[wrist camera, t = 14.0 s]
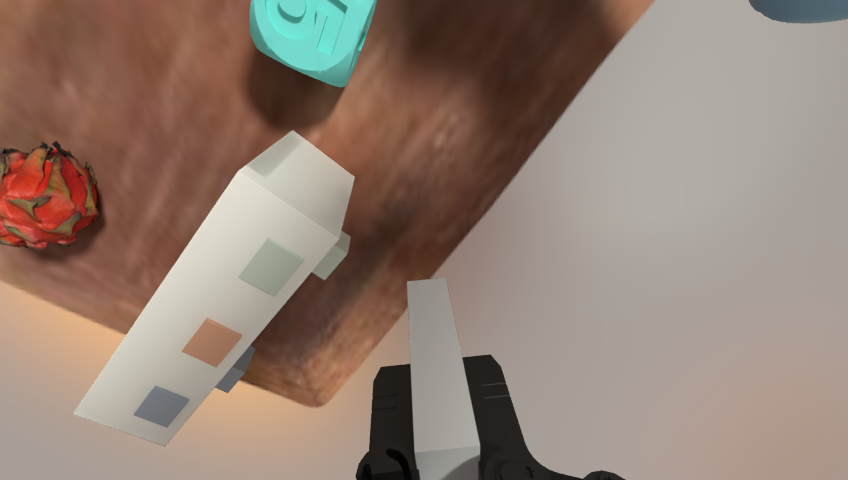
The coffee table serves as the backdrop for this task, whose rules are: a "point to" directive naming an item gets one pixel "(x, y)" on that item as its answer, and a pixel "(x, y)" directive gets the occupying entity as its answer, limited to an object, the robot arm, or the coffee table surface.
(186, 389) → the button box
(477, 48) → the coffee table surface
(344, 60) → the decorative dice
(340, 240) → the sage button
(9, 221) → the dragon fruit
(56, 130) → the coffee table surface
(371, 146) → the coffee table surface
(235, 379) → the slate button
